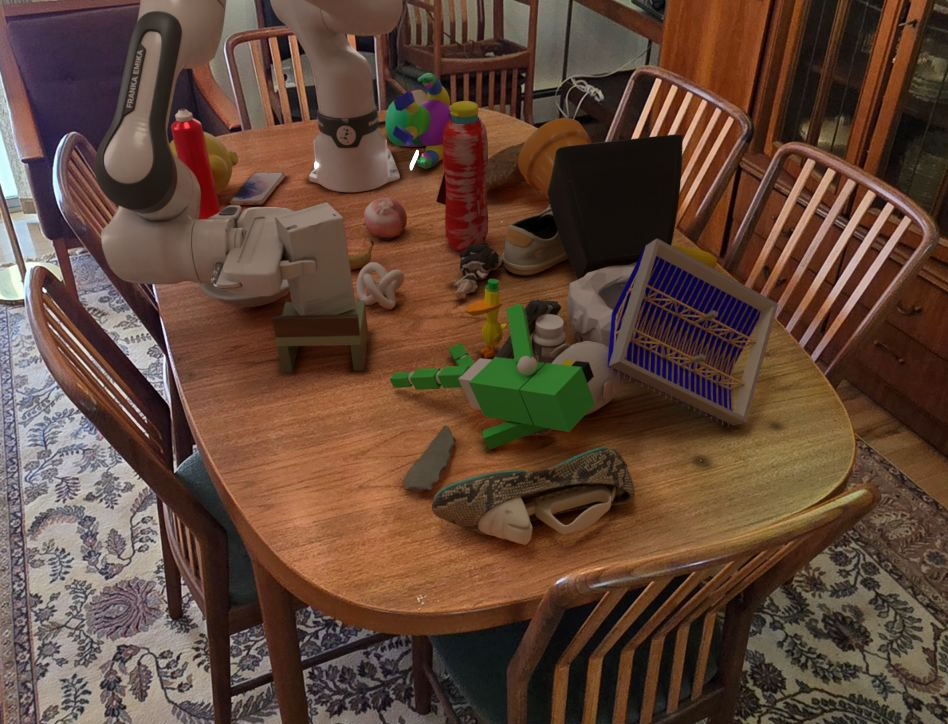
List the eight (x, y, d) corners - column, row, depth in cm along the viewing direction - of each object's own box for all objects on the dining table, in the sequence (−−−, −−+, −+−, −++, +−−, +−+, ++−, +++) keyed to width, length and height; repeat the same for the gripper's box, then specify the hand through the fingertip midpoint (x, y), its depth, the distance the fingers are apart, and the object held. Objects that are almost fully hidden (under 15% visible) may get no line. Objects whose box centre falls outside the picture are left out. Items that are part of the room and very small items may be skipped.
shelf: (291, 335, 133) (282, 284, 127) (368, 334, 133) (362, 282, 127) (282, 372, 126) (271, 319, 120) (363, 370, 126) (357, 317, 120)
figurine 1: (418, 67, 167) (477, 81, 182) (364, 69, 174) (425, 82, 190) (414, 167, 173) (472, 172, 188) (362, 164, 180) (422, 169, 196)
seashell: (513, 152, 183) (547, 118, 169) (530, 192, 184) (566, 162, 170) (438, 175, 175) (468, 141, 161) (457, 217, 176) (488, 187, 162)
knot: (345, 307, 140) (341, 274, 136) (372, 285, 145) (369, 253, 141) (385, 318, 137) (382, 285, 133) (410, 295, 142) (408, 263, 138)
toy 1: (466, 370, 131) (627, 392, 110) (402, 431, 124) (561, 466, 103) (430, 291, 123) (596, 299, 102) (360, 351, 116) (522, 372, 95)
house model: (617, 366, 107) (591, 377, 113) (744, 427, 112) (713, 434, 119) (658, 233, 110) (631, 251, 117) (779, 299, 116) (747, 312, 123)
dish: (288, 269, 149) (283, 242, 146) (327, 303, 140) (323, 276, 137) (192, 300, 142) (184, 273, 138) (227, 338, 133) (220, 310, 130)
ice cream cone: (449, 118, 201) (425, 89, 210) (434, 109, 198) (410, 79, 206) (437, 136, 203) (413, 106, 212) (422, 127, 200) (399, 96, 208)
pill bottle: (528, 362, 127) (530, 313, 121) (560, 360, 127) (563, 311, 122) (533, 381, 124) (535, 331, 118) (565, 379, 124) (569, 329, 118)
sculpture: (235, 193, 164) (239, 207, 177) (236, 125, 162) (239, 144, 175) (153, 187, 160) (162, 201, 174) (152, 117, 159) (162, 137, 172)
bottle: (215, 208, 168) (192, 102, 154) (225, 218, 164) (202, 110, 151) (188, 215, 166) (162, 108, 152) (198, 225, 162) (172, 117, 149)
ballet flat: (431, 472, 95) (460, 540, 90) (625, 428, 102) (661, 489, 97) (426, 515, 102) (452, 580, 97) (608, 470, 109) (641, 529, 104)
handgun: (512, 361, 138) (551, 297, 135) (524, 369, 138) (563, 304, 135) (482, 369, 120) (526, 295, 117) (496, 378, 120) (541, 304, 116)
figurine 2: (485, 304, 139) (514, 255, 148) (466, 270, 135) (498, 223, 145) (451, 313, 143) (482, 266, 152) (432, 280, 139) (464, 234, 149)
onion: (367, 246, 156) (363, 208, 151) (362, 227, 161) (358, 190, 156) (410, 241, 157) (408, 204, 152) (404, 223, 162) (402, 186, 158)
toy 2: (588, 316, 115) (579, 365, 123) (503, 371, 109) (499, 419, 118) (643, 360, 111) (630, 408, 119) (557, 420, 105) (550, 466, 114)
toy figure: (473, 366, 126) (472, 293, 118) (462, 354, 129) (460, 282, 121) (512, 353, 129) (514, 281, 121) (500, 342, 131) (501, 270, 123)
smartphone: (228, 201, 168) (253, 172, 180) (229, 206, 169) (254, 176, 180) (262, 201, 167) (285, 171, 178) (263, 206, 168) (286, 176, 179)
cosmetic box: (341, 294, 131) (329, 200, 121) (358, 311, 127) (346, 215, 117) (289, 309, 128) (272, 213, 118) (304, 326, 124) (288, 229, 114)
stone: (400, 497, 107) (434, 499, 104) (394, 485, 106) (429, 487, 103) (442, 433, 115) (474, 434, 113) (437, 422, 114) (470, 422, 111)
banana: (330, 281, 146) (327, 260, 143) (322, 276, 147) (319, 255, 145) (379, 263, 151) (377, 242, 148) (371, 258, 152) (369, 237, 149)
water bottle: (425, 237, 158) (418, 96, 141) (460, 226, 161) (457, 86, 145) (463, 262, 151) (460, 116, 134) (499, 249, 154) (500, 105, 137)
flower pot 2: (698, 241, 125) (683, 130, 126) (570, 256, 125) (556, 144, 126) (670, 278, 144) (657, 182, 145) (558, 291, 144) (546, 194, 145)
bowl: (606, 398, 120) (614, 337, 113) (540, 327, 134) (543, 269, 127) (729, 364, 126) (743, 304, 119) (654, 299, 140) (662, 242, 133)
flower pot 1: (619, 153, 154) (586, 106, 159) (548, 180, 152) (517, 132, 157) (612, 208, 167) (581, 164, 172) (547, 234, 165) (518, 189, 170)
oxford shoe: (635, 228, 159) (641, 183, 154) (534, 286, 144) (536, 239, 138) (588, 211, 165) (592, 167, 159) (486, 265, 149) (486, 219, 144)
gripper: (201, 266, 111) (308, 264, 111) (231, 199, 126) (325, 197, 126) (212, 309, 115) (314, 306, 115) (239, 239, 131) (330, 237, 131)
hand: (320, 249), depth 121 cm, fingers open, 8 cm apart
